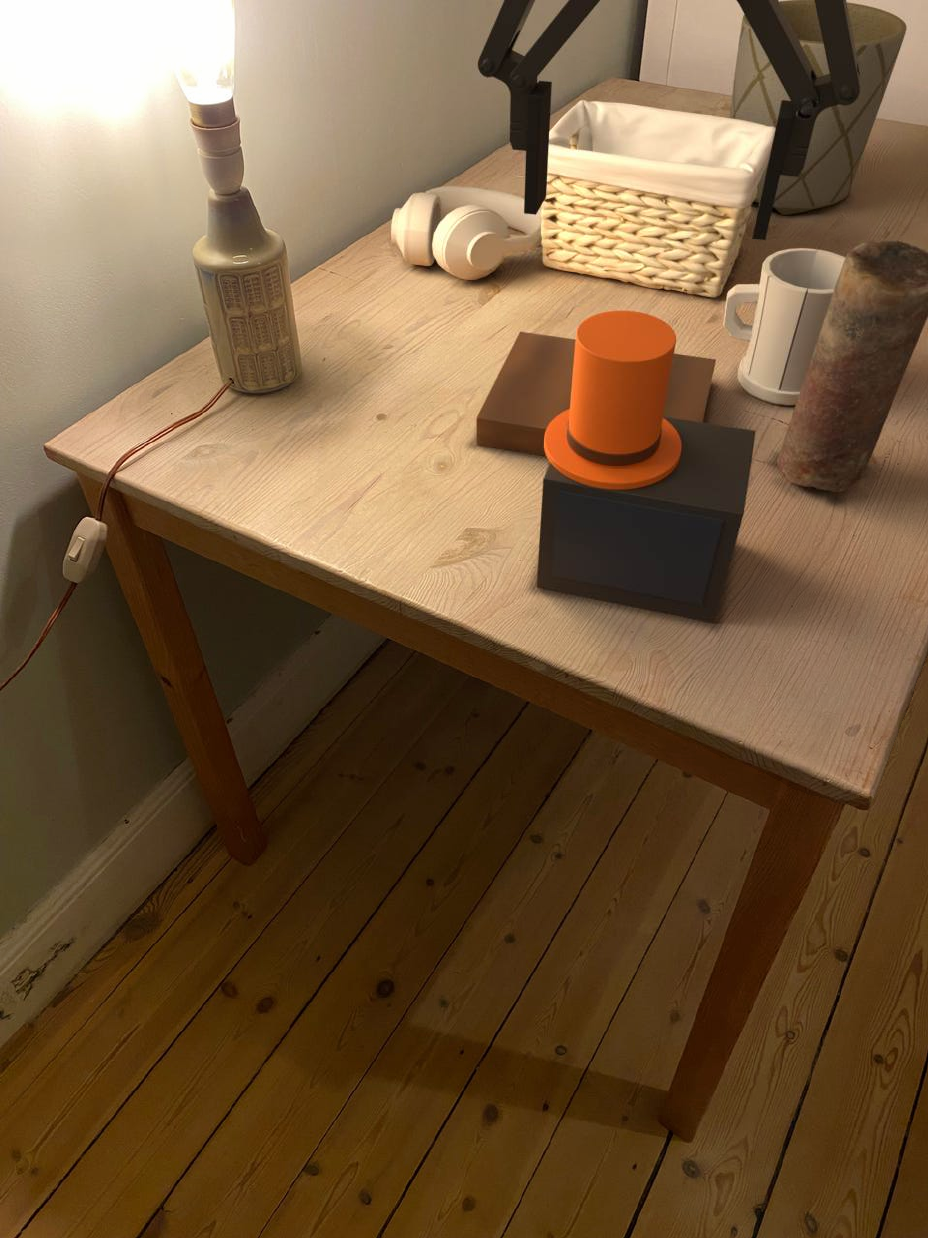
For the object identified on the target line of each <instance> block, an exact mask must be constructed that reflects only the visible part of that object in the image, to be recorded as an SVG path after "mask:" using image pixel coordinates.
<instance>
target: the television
mask: <svg viewBox="0 0 928 1238" xmlns="http://www.w3.org/2000/svg"><path fill="white" fill-rule="evenodd" d="M663 418H664V419H665V420H667V421H668V422H669V423H670V424H671V425H672V426H673V427H674V428H675V429H676V431H677V433H678V434H679V436H680V440H681V445H682V449H681V455H680V459H679V462H678V464H677V466H676V467H675V469H674V470H673V471H672V472H671V473H670V474H669V475H668V476H666V477H665V478H663V479H662V480H660V481H658V482H656V483H653V484H651V485H647V486H644V487H640V488H634V489H624V490H613V489H602V488H596V487H592V486H588V485H585V484H582V483H579V482H577V481H574V480H572V479H570V478H568V477H566V476H565V475H563V474H562V473H561V472H559V471H558V470H557V469H556V468H555V467H554V466H553V465H552V464H551V463H550V462H548V465H547V468H546V470H545V473H544V475H543V479H542V490H541V491H542V493H541V508H540V510H541V511H540V523H539V539H538V540H539V542H538V554H537V555H538V556H537V572H536V573H537V574H536V588H537V589H542V590H548V591H552V592H557V593H562V594H567V595H571V596H572V595H573V596H576V597H577V596H578V597H582V598H586V599H592V600H597V601H602V602H607V603H611V604H616V605H622V606H627V607H631V608H637V609H642V610H646V611H650V612H651V611H652V612H656V613H661V614H667V615H671V616H675V617H676V616H677V617H682V618H686V619H691V620H696V621H701V622H705V623H710V624H714V622H715V620H716V617H717V612H718V608H719V606H720V601H721V598H722V594H723V591H724V587H725V583H726V580H727V576H728V573H729V570H730V569H729V568H730V565H731V561H732V558H733V553H734V551H735V546H736V543H737V540H738V536H739V532H740V529H741V525H742V521H743V519H744V514H745V508H746V501H747V493H748V489H749V488H748V487H749V479H750V473H751V468H752V467H751V466H752V460H753V454H754V445H755V439H756V434H757V433H756V432H757V431H756V430H752V429H746V428H739V427H733V426H727V425H721V424H715V423H710V422H709V423H708V422H704V421H703V422H696V421H690V420H684V419H677V418H671V417H664V416H663Z"/></svg>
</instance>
